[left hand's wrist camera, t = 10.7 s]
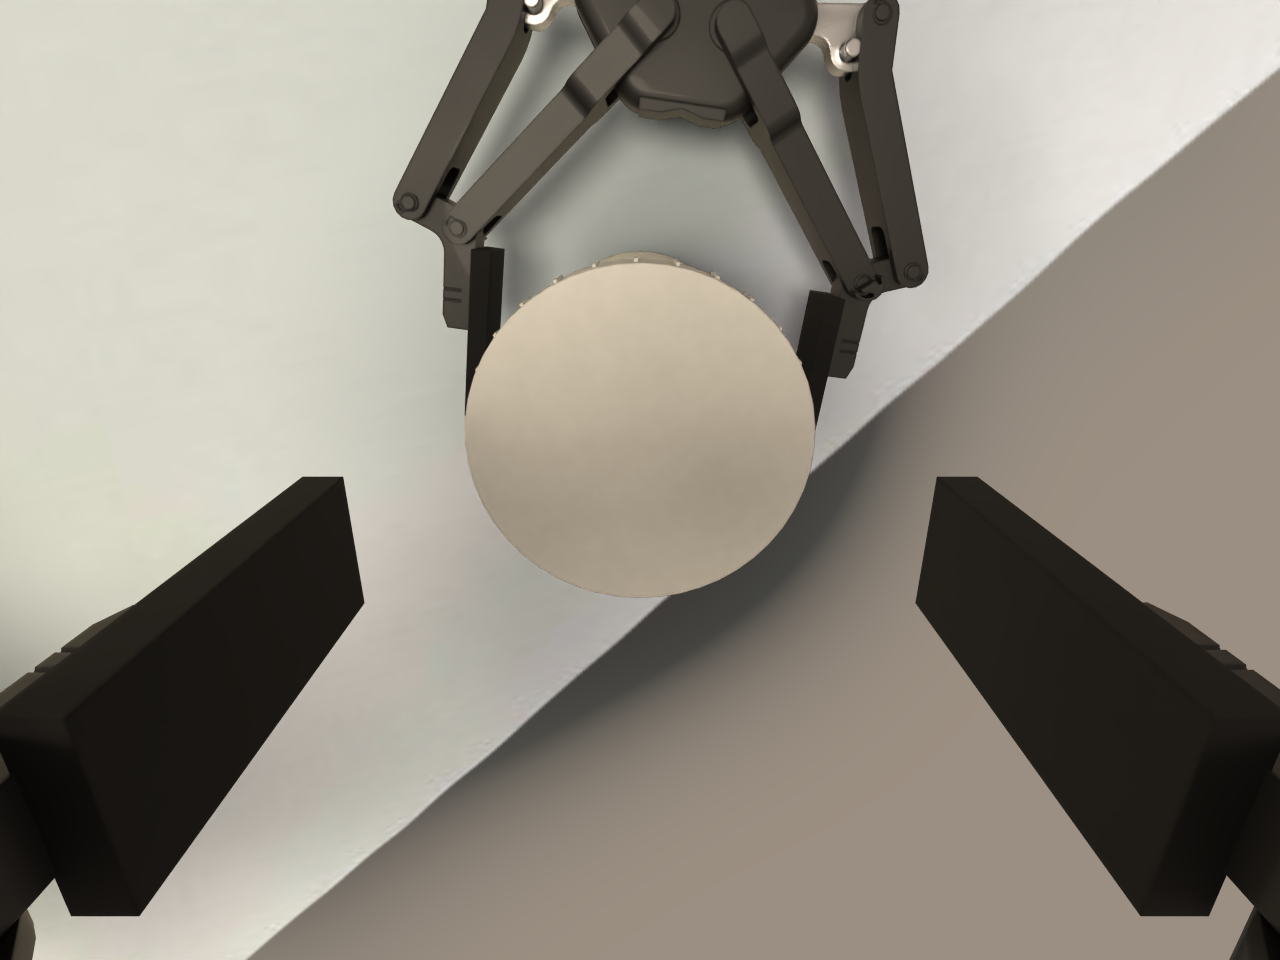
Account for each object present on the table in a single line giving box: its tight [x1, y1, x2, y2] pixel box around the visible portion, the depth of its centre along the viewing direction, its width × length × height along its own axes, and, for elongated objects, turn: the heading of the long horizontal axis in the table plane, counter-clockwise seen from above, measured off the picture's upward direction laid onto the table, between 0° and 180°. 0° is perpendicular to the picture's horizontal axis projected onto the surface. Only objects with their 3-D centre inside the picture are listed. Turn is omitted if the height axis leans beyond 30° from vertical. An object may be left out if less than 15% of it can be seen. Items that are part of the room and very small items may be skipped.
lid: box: [465, 255, 815, 598], centre depth 19 cm, size 10×10×2 cm
